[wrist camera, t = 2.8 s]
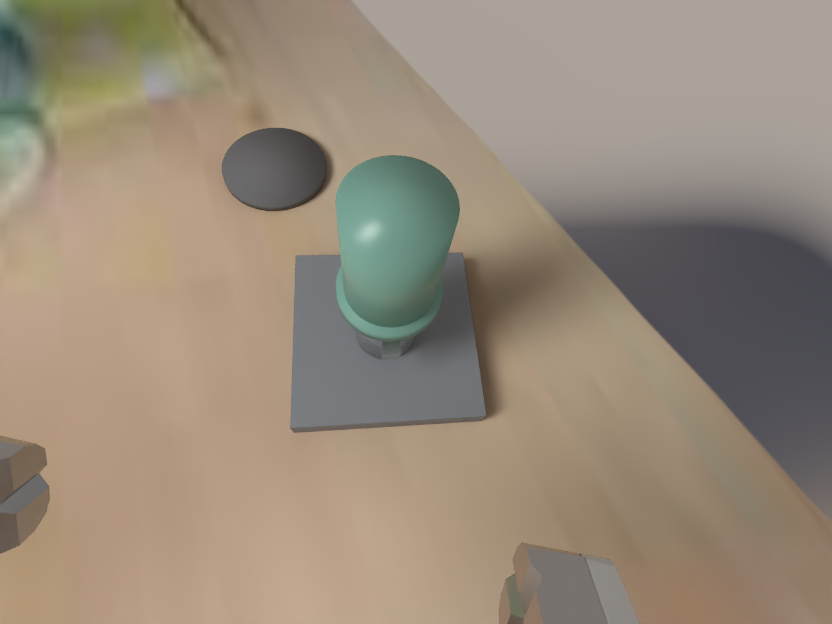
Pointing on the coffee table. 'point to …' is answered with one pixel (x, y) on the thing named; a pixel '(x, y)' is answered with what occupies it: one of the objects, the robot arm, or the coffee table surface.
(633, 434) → the coffee table surface
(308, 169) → the pad
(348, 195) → the cap
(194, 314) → the coffee table surface
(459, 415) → the post slab
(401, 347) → the grey rounded piece
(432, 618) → the coffee table surface
